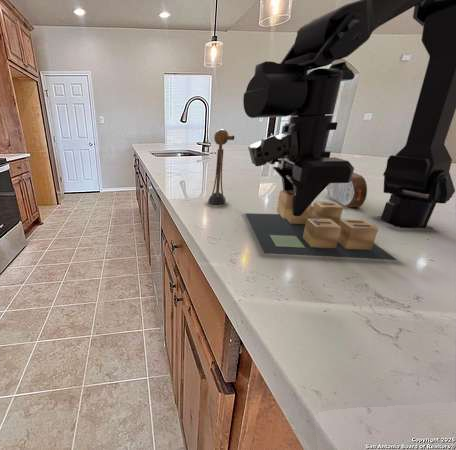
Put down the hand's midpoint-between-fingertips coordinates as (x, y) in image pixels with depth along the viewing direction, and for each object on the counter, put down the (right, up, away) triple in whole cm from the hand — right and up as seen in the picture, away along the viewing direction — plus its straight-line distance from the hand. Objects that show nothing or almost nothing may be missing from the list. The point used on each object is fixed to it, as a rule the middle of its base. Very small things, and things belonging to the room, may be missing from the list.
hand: (292, 211), depth 43 cm
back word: (+10, -2, +11) cm, 15 cm away
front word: (+8, -6, +1) cm, 10 cm away
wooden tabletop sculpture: (-7, +3, +25) cm, 26 cm away
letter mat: (+6, -4, +6) cm, 10 cm away
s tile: (0, -1, 0) cm, 1 cm away
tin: (+26, +3, +23) cm, 35 cm away
